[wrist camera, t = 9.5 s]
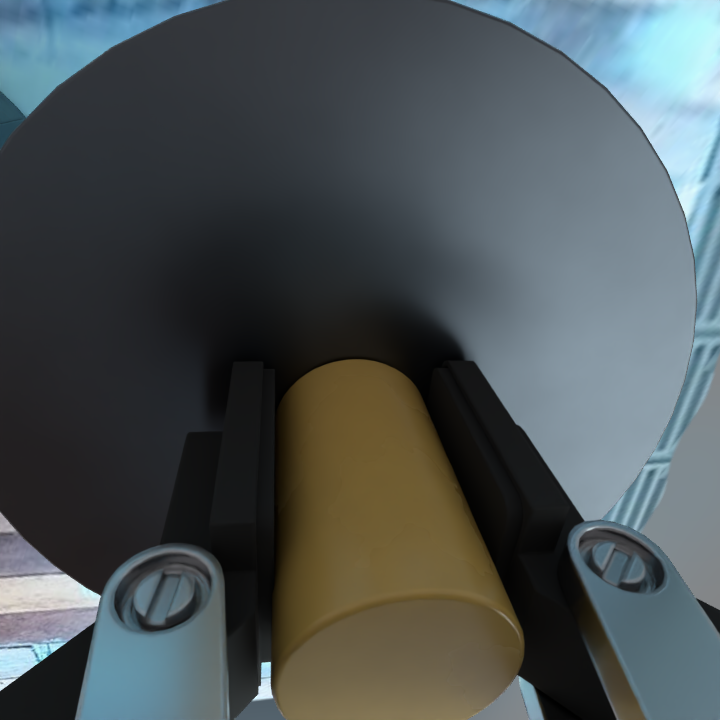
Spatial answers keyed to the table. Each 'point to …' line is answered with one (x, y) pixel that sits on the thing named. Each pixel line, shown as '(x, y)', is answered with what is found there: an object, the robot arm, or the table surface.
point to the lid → (335, 313)
